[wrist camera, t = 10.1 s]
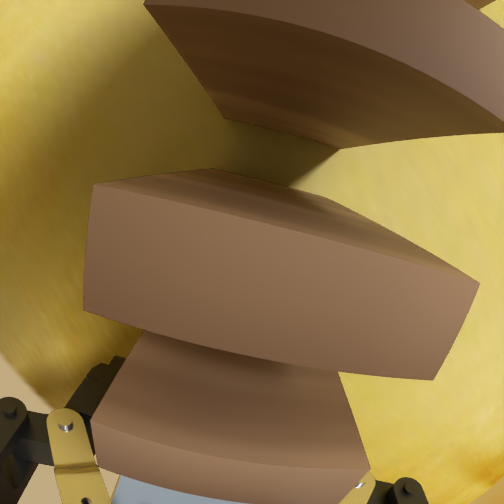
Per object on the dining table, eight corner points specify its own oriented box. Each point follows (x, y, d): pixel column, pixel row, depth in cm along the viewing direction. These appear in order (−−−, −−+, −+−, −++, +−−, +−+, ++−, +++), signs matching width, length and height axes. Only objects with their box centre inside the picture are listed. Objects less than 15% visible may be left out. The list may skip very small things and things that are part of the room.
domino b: (212, 168, 13) (93, 184, 3) (327, 197, 13) (480, 282, 3) (203, 205, 13) (83, 310, 4) (317, 233, 13) (432, 380, 4)
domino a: (193, 254, 14) (90, 420, 4) (302, 280, 14) (370, 468, 4) (187, 286, 14) (98, 466, 5) (292, 311, 14) (335, 506, 5)
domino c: (234, 83, 12) (186, -80, 2) (349, 114, 12) (520, 43, 2) (224, 118, 12) (142, 4, 3) (340, 149, 12) (517, 132, 3)
